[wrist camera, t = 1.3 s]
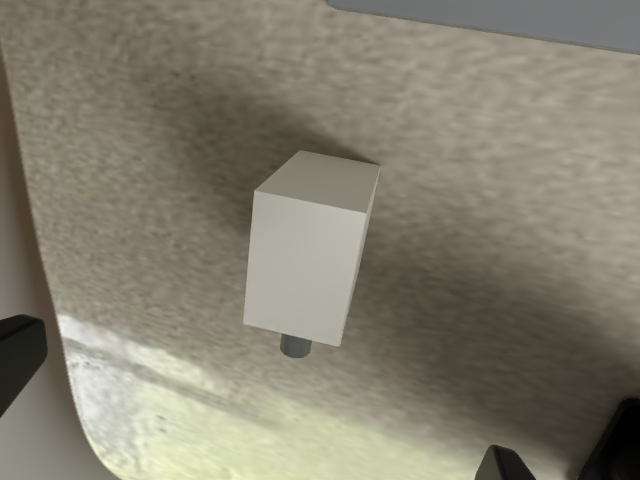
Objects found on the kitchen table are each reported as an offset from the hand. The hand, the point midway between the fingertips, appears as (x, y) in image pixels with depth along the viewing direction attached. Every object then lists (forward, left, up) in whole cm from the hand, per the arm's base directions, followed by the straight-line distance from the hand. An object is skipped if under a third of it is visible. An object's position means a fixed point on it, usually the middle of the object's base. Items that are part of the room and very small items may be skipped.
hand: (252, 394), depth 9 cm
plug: (-1, 0, -12) cm, 12 cm away
